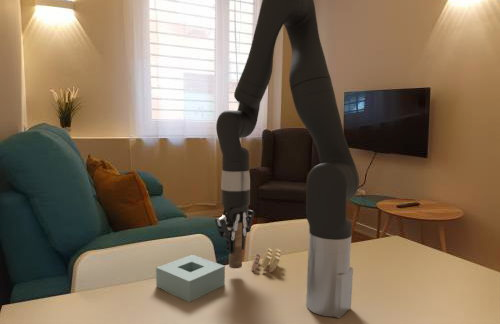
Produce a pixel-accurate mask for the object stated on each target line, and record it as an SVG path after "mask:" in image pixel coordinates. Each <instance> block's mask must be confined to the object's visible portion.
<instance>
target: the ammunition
mask: <svg viewBox="0 0 500 324" xmlns="http://www.w3.org/2000/svg"><path fill="white" fill-rule="evenodd" d="M272 253H273V254H272ZM281 253H282V250H281V249H279V248H275V250H274V252H273V249H271V248H270V247H269V248H267V249H266V251H265V253H264V255H263V257H262V258H263V259H262V263H261V265H260V266H261V268H263V269H267V268H268V266H269V270H268V273H272V272H273V271H274V270H276V268H277V266H278V264H279V263H280V261H281V258H280V257H281V256H282V254H281ZM260 259H261V255H260V254H255V256H254V258H253V260H252V261H253V262H252V265H251V271H252V270H253V271H252V272H254V271H256V270H257V269H258V267H259V264H260Z"/></svg>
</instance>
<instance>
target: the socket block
mask: <svg viewBox="0 0 500 324" xmlns="http://www.w3.org/2000/svg"><path fill="white" fill-rule="evenodd" d="M155 269H156V272H155V276H156V278H155V279H156V280H155V281H156V286H157V287H156V288H158V287H159V289H160V288H161V290H162V289H163V290H162V291H165V292H167V293H169V294H171V295H173V296H175V297H177V298H179V299H182V300H184V301H186V302H188V303H191V302H192V301H194V300H197V299H199V298H201V297H203V296H205V295H207V294H209V293H211V292H213V291H215V290H217V289H219V288H222V287H224V286H225V284H226V283H225V282H226V281H225V280H226V279H225V277H226V276H225V274H226V266H225V265H223V264H221V263H217V262H215V261H212V260H208V259H206V258H204V257H200V256H197V255H195V254H190V255H187V256H184V257H182V258H179V259H176V260H174V261H171V262H168V263H165V264H162V265H160V266H159V265H158V266H157V267H156V268H155Z"/></svg>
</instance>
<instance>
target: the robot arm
mask: <svg viewBox="0 0 500 324" xmlns="http://www.w3.org/2000/svg"><path fill="white" fill-rule="evenodd" d="M283 26H284V28H285V31H286V33H287V36H288V40H289V43H290V48H291V58H290V59H291V61H290V67H289V68H290V69H289V76H288V77H289V79H288V81H289V88H290V94H291V95H292V96H291V97H292V100H293V104H294V107H295V111H296V113H297V115H298V117H299V118H300V120H301V123H302V124H303V126H304V127H305V129H306V130H307V131H308V133H309V135H310V137H311V138H312V140H313V143H314V144H315V147H316V151H317V155H318V159H319V164H317V165H315V166H314V167H313V168H312V169H311V170H310V171H309V172H308V173H309V174H308V176H307V179H306V189H305V191H306V192H305V194H306V195H305V199H306V200H305V201H306V202H305V203H306V204H305V205H306V207H305V209H306V210H305V211H306V212H305V213H306V214H305V215H306V220H307V223H308V230H309V231H308V235H309V236H308V251H307V271H306V272H307V275H306V295H305V296H306V297H305V299H306V300H305V301H306V302H305V304H306V307H307V309H308V310H309V311H310V312H312V313H314V314H316V315H319V316H324V317H333V318H334V317H335V318H338V319H341V318H342V317H343V316H344V315H345V314H346V313H347V312H348V311H349V310H350V309H351V308H352V294H353V293H352V292H353V276H354V268H353V267H352V266H351V249H352V235H353V234H352V233H353V225H352V222H351V221H350V220H349V219H348V218H347V201H348V200H350V199H352V198H353V197H354V196H355V195H356V194H357V192H358V190H359V186H360V177H359V173H358V169H357V167H356V164H355V161H354V158H353V156H352V153H351V150H350V148H349V147H350V146H348V143H347V139H346V136H345V132H344V129H343V124H342V120H341V115H340V112H339V108H338V103H337V99H336V95H335V91H334V90H335V89H334V87H333V83H332V79H331V74H330V72H329V68H328V65H327V61H326V56H325V53H324V50H323V47H322V43H321V39H320V34H319V28H318V27H319V26H318V21H317V13H316V7H315V1H314V0H262V1H261V4H260V8H259V12H258V17H257V21H256V25H255V29H254V33H253V38H252V41H251V45H250V49H249V53H248V56H247V59H246V62H245V65H244V68H243V70H242V72H241V75H240V77H239V80H238V82H237V84H236V88H235V89H234V95H233V96H234V97H233V98H234V99H235V101H236V102H238V106H237V107H238V108H237V110H233V109H232V110H224V111H222V112H221V113H220V114H219V115H218V117H217V120H216V125H215V126H216V128H215V129H216V130H215V131H216V134H217V135H216V136H217V138H218V139H217V140H218V143H219V148H220V151H221V154H222V160H221V165H222V166H221V169H222V172H221V179H220V180H221V183H220V184H221V188H220V189H221V193H220V194H221V195H220V196H221V197H220V199H221V202H220V203H221V206H223V212H222V216H220V217H216V218H215V219H214V221H215V225H216V228H217V231H218V235H219V238H220V239H225V250H226V252H227V254H229V253H230V254H233V253H235V240H234V238H235V232H236V231H237V227H238V223H240V222H242V251H243V250H244V249H245V243H246V242H245V241H246V236H247V234H248V233H250V232H251V229H252V225H253V221H254V217H255V210H251V209H249V208H248V206H250V204H251V175H250V174H251V173H250V153H249V150H248V149H247V148H245V147H243V146H242V143H241V140H240V138H241V139H243V138H246V137H249V136H250V135H251V134H252V133H253V132H254V130H255V128H256V125H257V123H258V119H259V118H258V117H259V114H260V106H261V102H262V100H263V97H264V95H265V92H266V91H267V88H268V86H269V84H270V81H271V77H272V74H273V65H274V53H275V52H274V51H275V47H276V43H277V42H276V41H277V39H278V37H279V34H280V32H281V29H283V28H282V27H283ZM229 226H233V228H231V227H229ZM230 231H231V235H229V232H230Z"/></svg>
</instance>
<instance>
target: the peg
mask: <svg viewBox="0 0 500 324" xmlns="http://www.w3.org/2000/svg"><path fill="white" fill-rule="evenodd" d="M229 227H231V228H233V226H229ZM229 235H231V231H230V232H229ZM234 240H235V253H233V254H230V253H228V267H229V268H231V269H234V270H235V269H240V268H242V267H243V250H242V222H240V223H238V227H237V231H236V232H235V238H234Z"/></svg>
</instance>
